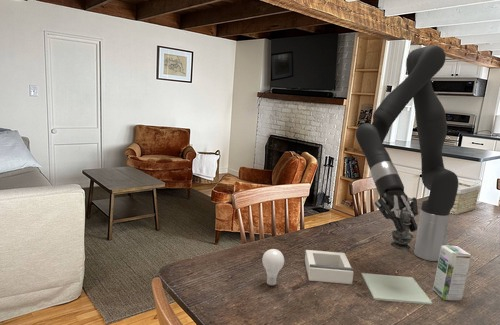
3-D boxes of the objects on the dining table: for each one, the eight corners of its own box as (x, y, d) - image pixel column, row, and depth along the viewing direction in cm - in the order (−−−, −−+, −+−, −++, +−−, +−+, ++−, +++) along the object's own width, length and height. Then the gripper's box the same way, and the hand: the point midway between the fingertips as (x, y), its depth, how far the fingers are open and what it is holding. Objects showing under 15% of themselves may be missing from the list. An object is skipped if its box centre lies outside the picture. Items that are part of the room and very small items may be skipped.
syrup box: (431, 289, 105) (439, 244, 102) (450, 289, 106) (458, 245, 103) (443, 300, 99) (452, 253, 97) (463, 300, 100) (472, 254, 97)
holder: (343, 264, 118) (344, 250, 117) (351, 284, 105) (353, 269, 104) (304, 260, 119) (306, 247, 118) (308, 280, 106) (310, 265, 105)
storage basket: (455, 216, 179) (460, 188, 176) (425, 207, 192) (429, 181, 189) (477, 210, 192) (482, 184, 189) (448, 202, 205) (452, 177, 202)
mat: (412, 279, 111) (412, 277, 111) (432, 304, 97) (432, 302, 97) (361, 274, 111) (361, 273, 111) (374, 299, 98) (374, 297, 98)
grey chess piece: (413, 251, 98) (420, 211, 96) (391, 248, 99) (398, 208, 97) (408, 243, 104) (415, 205, 102) (388, 240, 105) (393, 202, 103)
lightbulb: (284, 282, 104) (287, 247, 102) (279, 292, 98) (282, 256, 96) (264, 277, 106) (266, 243, 104) (257, 287, 100) (260, 252, 98)
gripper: (373, 172, 103) (395, 227, 94) (412, 172, 107) (437, 224, 98) (360, 185, 109) (380, 237, 100) (398, 184, 113) (420, 234, 104)
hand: (408, 230), depth 99 cm, fingers closed on grey chess piece, 3 cm apart
